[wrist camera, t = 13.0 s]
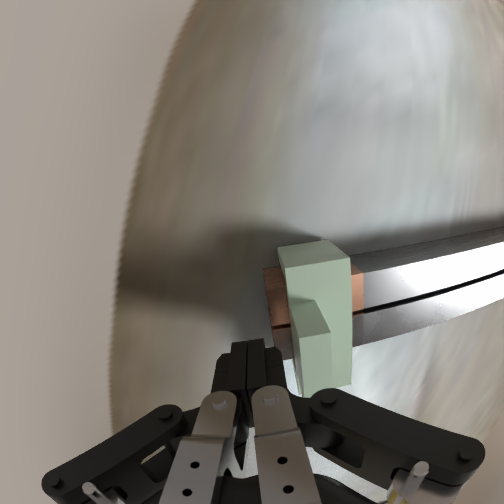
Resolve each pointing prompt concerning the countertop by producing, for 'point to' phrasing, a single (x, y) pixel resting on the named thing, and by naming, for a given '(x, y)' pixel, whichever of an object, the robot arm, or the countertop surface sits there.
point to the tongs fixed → (405, 271)
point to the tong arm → (410, 312)
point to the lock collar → (319, 314)
